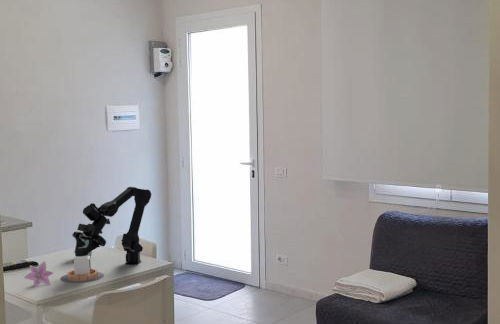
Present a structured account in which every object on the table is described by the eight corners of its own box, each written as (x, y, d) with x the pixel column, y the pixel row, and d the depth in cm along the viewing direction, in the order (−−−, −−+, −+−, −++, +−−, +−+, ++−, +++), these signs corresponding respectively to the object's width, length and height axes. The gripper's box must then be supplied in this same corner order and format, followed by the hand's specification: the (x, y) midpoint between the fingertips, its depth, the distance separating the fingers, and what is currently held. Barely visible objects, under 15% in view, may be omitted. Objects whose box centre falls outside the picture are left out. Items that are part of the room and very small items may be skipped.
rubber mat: (110, 272, 289) (110, 272, 289) (93, 284, 270) (93, 283, 270) (72, 271, 293) (72, 270, 293) (52, 282, 273) (52, 281, 273)
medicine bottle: (90, 274, 279) (89, 249, 277) (74, 275, 277) (73, 250, 276) (90, 270, 285) (89, 245, 284) (75, 271, 284) (74, 246, 283)
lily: (20, 290, 265) (24, 274, 261) (27, 273, 276) (31, 257, 272) (47, 296, 268) (51, 280, 264) (53, 280, 278) (57, 264, 274)
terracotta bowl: (102, 273, 287) (102, 269, 287) (89, 281, 273) (89, 277, 273) (75, 272, 289) (75, 267, 289) (61, 280, 275) (61, 275, 275)
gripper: (74, 215, 287) (56, 241, 279) (100, 218, 277) (82, 246, 269) (88, 228, 294) (70, 254, 286) (113, 232, 284) (96, 259, 276)
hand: (79, 253), depth 279 cm, fingers closed on medicine bottle, 6 cm apart
